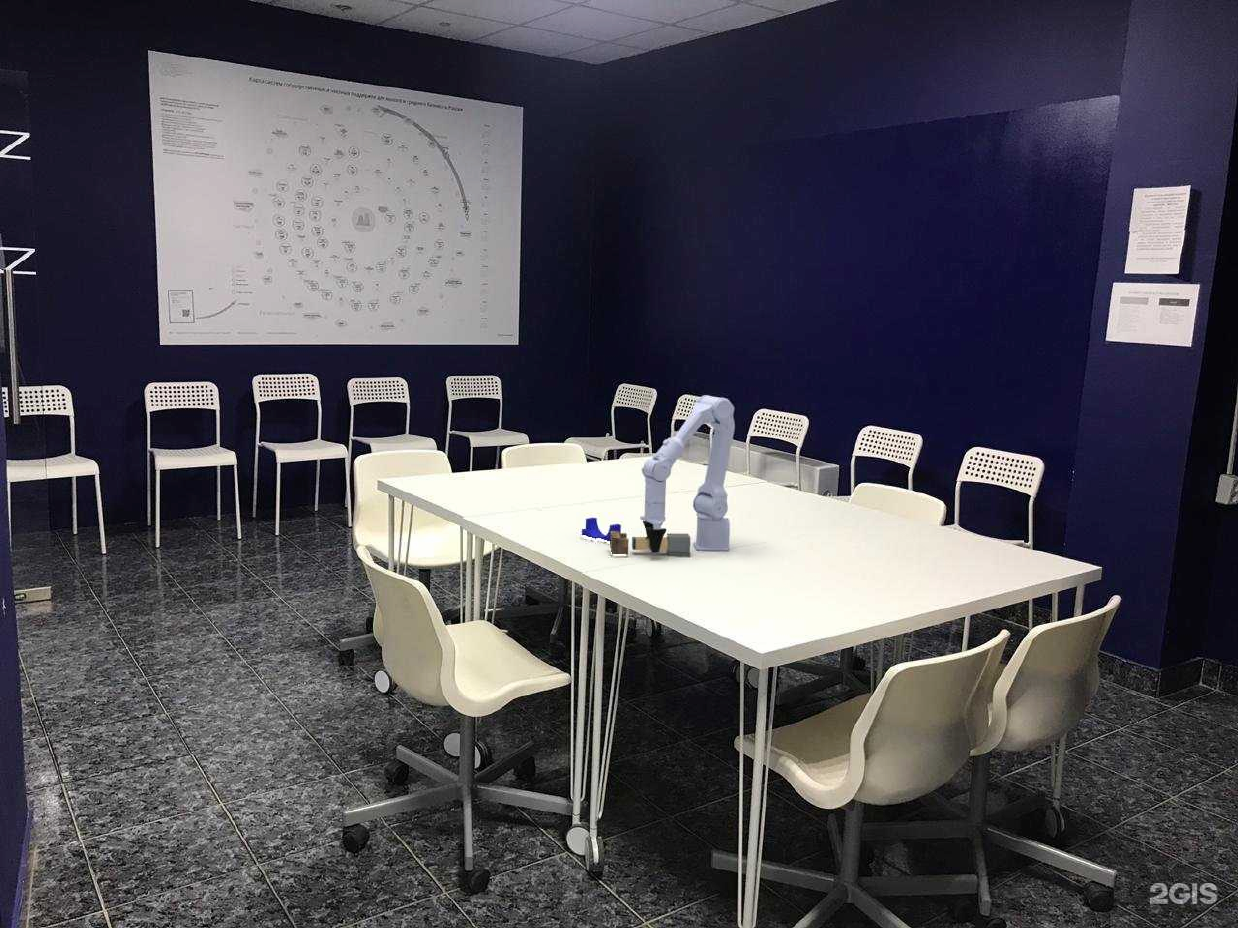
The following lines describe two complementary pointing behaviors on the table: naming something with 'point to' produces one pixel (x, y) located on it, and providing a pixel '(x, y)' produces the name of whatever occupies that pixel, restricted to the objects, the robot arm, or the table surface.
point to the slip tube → (648, 543)
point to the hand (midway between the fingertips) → (653, 548)
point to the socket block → (618, 543)
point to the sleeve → (679, 545)
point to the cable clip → (594, 531)
